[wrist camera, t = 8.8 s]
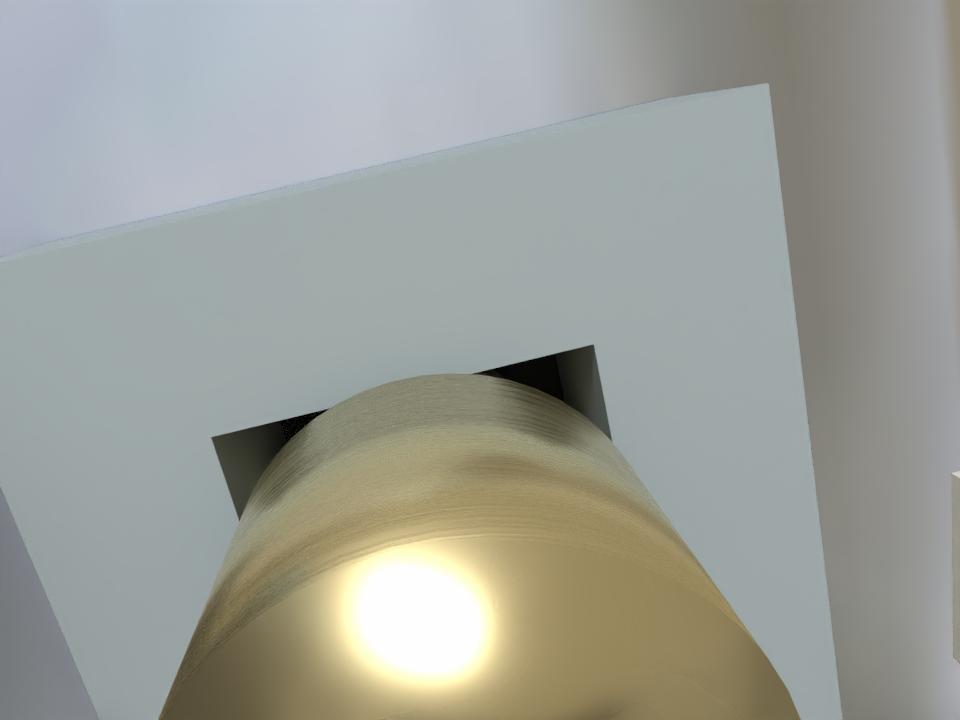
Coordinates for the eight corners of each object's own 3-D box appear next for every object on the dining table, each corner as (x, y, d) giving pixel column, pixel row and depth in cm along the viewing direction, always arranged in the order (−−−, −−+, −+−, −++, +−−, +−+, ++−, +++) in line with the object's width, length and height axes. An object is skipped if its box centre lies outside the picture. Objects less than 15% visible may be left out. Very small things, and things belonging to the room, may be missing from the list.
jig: (745, 625, 19) (848, 769, 15) (240, 755, 19) (193, 942, 14) (666, 98, 16) (769, 83, 11) (50, 242, 15) (-87, 282, 11)
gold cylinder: (460, 639, 18) (530, 1184, 9) (217, 485, 17) (-18, 941, 7) (644, 423, 17) (945, 770, 8) (404, 239, 16) (417, 393, 6)
